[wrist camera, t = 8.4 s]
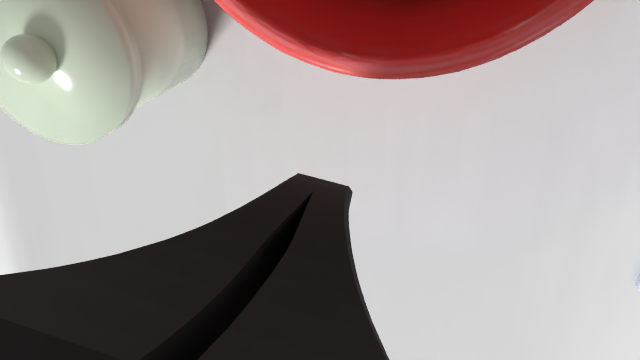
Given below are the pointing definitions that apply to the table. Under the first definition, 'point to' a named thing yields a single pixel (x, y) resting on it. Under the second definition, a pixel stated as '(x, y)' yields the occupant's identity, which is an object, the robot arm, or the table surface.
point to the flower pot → (400, 31)
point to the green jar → (93, 61)
